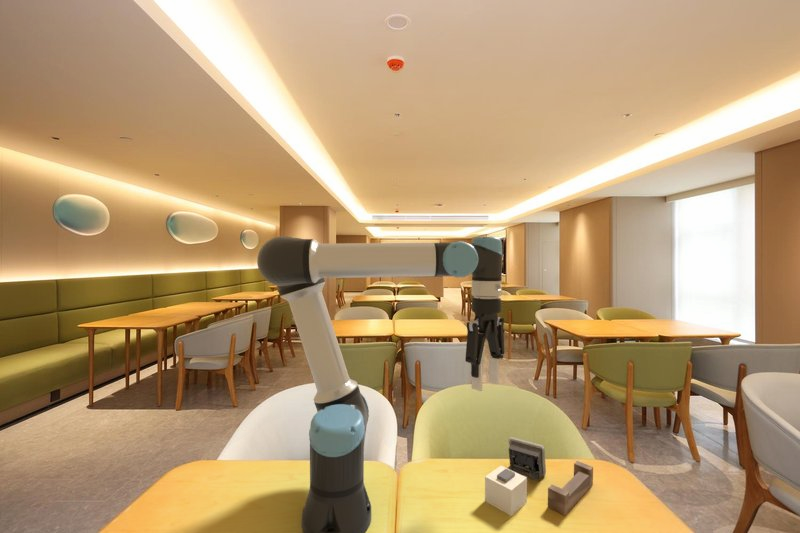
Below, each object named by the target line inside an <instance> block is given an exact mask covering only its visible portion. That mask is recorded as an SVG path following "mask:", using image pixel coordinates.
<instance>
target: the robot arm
mask: <svg viewBox="0 0 800 533" xmlns="http://www.w3.org/2000/svg"><path fill="white" fill-rule="evenodd" d="M503 255H504V254H503V243H502V240H501V238H500V237H498V236H475V237H473V238H472V240H471V244H470V243H468V242H466V241H462V240H456V241H451V242H450V241H449V242H447V241H446V242H445V241H444V242H443V241H442V242H440V241H439V242H369V243H368V242H366V243H363V242H361V243H360V242H356V243H353V242H349V243H348V242H347V243H339V242H338V243H337V242H336V243H320V242H318V240H316V238H315V239H314V238H300V237H299V238H298V237H292V236H287V235H283V236H282V235H281V236H276V237H273V238H271V239H269V240H267V241H266V242H265V243H264V244H263V245H262V246H261V247H260V250H259V251H258V254H257V259H256V260H257V261H256V263H257V268H258V271H259V273H260V275H261V276H262V278H264V280H265V281H267V282H268V283H270V284H272V285H274V286H276V288H277V291H278V295H279V296H280V298H281V299H283V300H285V301H287V302H288V305H289V307H290V311H291V313H292V318H293V320H294V322H295V323H294V324H295V326H296V329H297V332H298V336H299V339H300V342H301V345H302V348H303V351H304V353H305V358H306V360H307V363H308V367H309V370H310V373H311V375H312V378H313V382H314V385H315V388H316V393H315V395H314V397H313V403H314V405H315V409H316V413H315V414H314V415H313V416H312V418H311V420H310V426H309V427H310V428H309V431H308V432H309V433H308V437H309V490H308V494H307V496H306V500H305V504H304V507H302V508H303V509H302V511H301V530H302V533H366V532H367V531H368V529H369V528H370V525H371V523H372V505H371V501H370V498H369V495H368V492H367V489H366V486H365V483H364V480H365V476H364V470H365V467H364V466H365V464H364V460H365V458H364V457H365V454H364V452H365V439H366V433H367V425H368V421H369V418H370V417H369V416H370V415H369V413H370V411H369V410H370V409H369V406H368V405H369V404H368V402H367V400H366V397H365V396H364V395H363V394H362V393H361V391H360V387H359V384H358V381H356V380H354V379H351V378H350V376H349V373H348V370H347V366H346V362H345V359H344V358H343V353H342V351H341V348H340V345H339V342H338V341H339V340H338V338H337V336H336V332H335V328H334V325H333V323H332V322H333V321H332V319H331V317H330V313H329V310H328V306H327V304H326V300H325V297H324V295H323V289H324V286H325V284H326V281H325V279H345V278H346V279H347V278H350V279H352V278H354V279H355V278H358V279H359V278H409V277H412V278H413V277H414V278H415V277H417V278H419V277H423V278H424V277H454V278H465V277H467V276H470V275H471V290H470V291H471V296H472V298H471V309H470V310H471V311H472V313H474V318H473V321H471V322H469V321H468V322H466V329H467V332H466V334H467V336H466V337H467V338H466V345H465V346H466V349H465V362H466V363H468V364H470V366H471V367H470V368H471V371H470V374H471V389H473V390H476V391H479V392H482V391H483V374H484V373H483V371H484V370H483V366H484V365H483V364H481V361H482V359H483V358H482V357H483V354H484V349H485V348H484V347H485V344H486V339H487V344H488V350H489V354H490V356H489V357H488V368H487V369H488V378H487V379H488V380H487V382H489V383H493V384H495V385H499V384H500V381H499V378H500V359H501V360H503V359H504V355H505V333H504V331H505V330H504V324H505V318H504V317H499V316H498V314H501V312H502V302H503V300H502V299H501V296H502V289H503V285H502V277H503V276H502V273H503V272H502V271H503Z"/></svg>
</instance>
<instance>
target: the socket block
mask: <svg viewBox="0 0 800 533" xmlns="http://www.w3.org/2000/svg"><path fill="white" fill-rule="evenodd" d="M527 500H528V477H526V476H523V475H520V474H518V473H516V472H514V471H512V469H511V470H510V469H509V468H507V467H505V466H504V465H499V466H498V467H497V468H495V469H494V470H493V471H491V472H489V473H488V474H487V475H485V476H484V502H485V503H487V504H488V505H489V504H490V505H491V506H493V507H495V508H497V509H498V510H500V511H502V512H503V513H505V514H506V515H509V516H510V517H512V516H513V515H515V513H517V512H518V511H519V510H520V509H521V508H522V507H523V506H524V505H525V504H527Z"/></svg>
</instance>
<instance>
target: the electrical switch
mask: <svg viewBox="0 0 800 533" xmlns="http://www.w3.org/2000/svg"><path fill="white" fill-rule="evenodd" d="M507 443H508V445H509V446H508V458H509V468H510V469H509V470H512V471H514V472H516V473H518V474H520V475H522V476H525V477H527V478H530V479H531V480H536V481H538V482H540V481H541V478H542V476H543V477H545V476H546V473H547V470H546V469H547V468H546V465H547V464H546V448H545V447H544V445H543V444H540V443H535V442H532V441H528V440H524V439H522V438H519V437H518V438H517V437H513V436H509V438H508V442H507ZM526 471H527V472H526Z"/></svg>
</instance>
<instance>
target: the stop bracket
mask: <svg viewBox="0 0 800 533" xmlns="http://www.w3.org/2000/svg"><path fill="white" fill-rule="evenodd" d="M593 485H594V467H593V466H591V465H589V464H587V463H585V462H583V461H582V462H581V461H579V460H576V461H575V462H574V463H573V477H571V478H570V479H569V480H568V481H567V483H566V484H565V485H564V486H562V487H558V486H557V485H554V484H550V486H548V487H547V507H548V508H549V509H550V510H552V511H555V512H557V513H559V514H561V515H563V516H566V515H567V514H568V513H569V512H570V511H571V509H573V507H574V506H575V505H576V504H577V503H578V502H579V501H580V499H581V498H582V497H583V496H584V495H585V494H586V493H587V492H588V491H589V489H590V488H591V487H592V486H593Z"/></svg>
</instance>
